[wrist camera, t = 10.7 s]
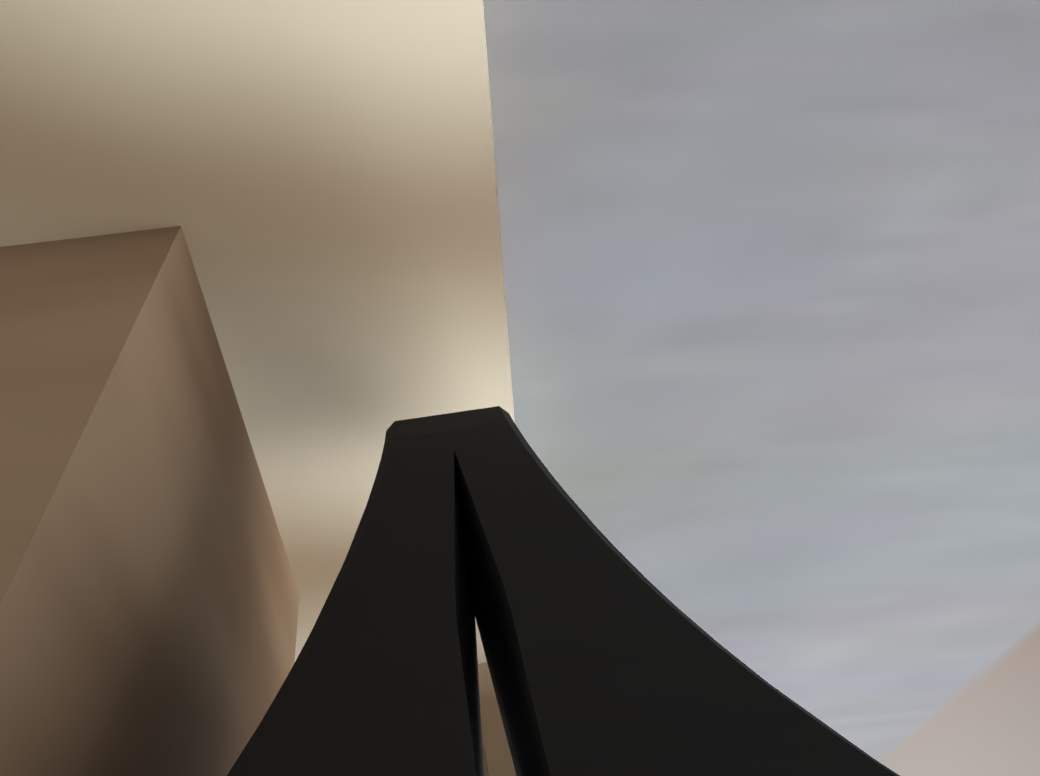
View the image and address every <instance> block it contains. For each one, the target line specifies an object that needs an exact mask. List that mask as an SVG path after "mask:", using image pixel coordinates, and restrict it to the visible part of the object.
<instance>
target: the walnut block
mask: <svg viewBox="0 0 1040 776" xmlns="http://www.w3.org/2000/svg"><path fill="white" fill-rule="evenodd" d="M298 608H299V592H298V589H297V586H296V582H295V579H294V576H293V573H292V570H291V567H290V564H289V561H288V558H287V554H286V551H285V548H284V545H283V542H282V539H281V536H280V533H279V529H278V526H277V523H276V520H275V517H274V514H273V511H272V508H271V505H270V501H269V498H268V495H267V492H266V489H265V486H264V483H263V480H262V477H261V473H260V470H259V467H258V464H257V461H256V458H255V455H254V452H253V449H252V445H251V442H250V439H249V436H248V433H247V430H246V427H245V424H244V421H243V417H242V414H241V411H240V408H239V405H238V402H237V399H236V396H235V393H234V389H233V386H232V383H231V380H230V377H229V374H228V371H227V368H226V365H225V361H224V358H223V355H222V352H221V349H220V346H219V343H218V340H217V337H216V333H215V330H214V327H213V324H212V321H211V318H210V315H209V312H208V309H207V305H206V302H205V299H204V296H203V293H202V290H201V287H200V284H199V281H198V277H197V274H196V271H195V268H194V265H193V262H192V259H191V256H190V253H189V249H188V246H187V243H186V240H185V237H184V234H183V231H182V228H181V226H176V227H167V228H158V229H150V230H141V231H133V232H124V233H116V234H107V235H99V236H90V237H81V238H73V239H64V240H56V241H47V242H39V243H30V244H21V245H13V246H4V247H0V776H227V774H228V773H229V771H230V770H231V768H232V767H233V765H234V763H235V762H236V760H237V759H238V757H239V756H240V754H241V752H242V751H243V749H244V748H245V746H246V745H247V743H248V741H249V740H250V738H251V737H252V735H253V734H254V732H255V730H256V729H257V727H258V726H259V724H260V722H261V721H262V719H263V717H264V716H265V714H266V712H267V711H268V709H269V707H270V705H271V704H272V702H273V700H274V698H275V697H276V695H277V693H278V692H279V690H280V688H281V686H282V685H283V683H284V681H285V679H286V678H287V676H288V674H289V672H290V670H291V669H292V667H293V665H294V662H295V648H296V635H297V621H298Z"/></svg>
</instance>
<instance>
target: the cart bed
mask: <svg viewBox="0 0 1040 776" xmlns="http://www.w3.org/2000/svg"><path fill="white" fill-rule="evenodd" d="M176 226H181V228H182V231H183V234H184V237H185V240H186V243H187V246H188V249H189V253H190V256H191V259H192V262H193V265H194V268H195V271H196V274H197V277H198V281H199V284H200V287H201V290H202V293H203V296H204V299H205V302H206V305H207V309H208V312H209V315H210V318H211V321H212V324H213V327H214V330H215V333H216V337H217V340H218V343H219V346H220V349H221V352H222V355H223V358H224V361H225V365H226V368H227V371H228V374H229V377H230V380H231V383H232V386H233V389H234V393H235V396H236V399H237V402H238V405H239V408H240V411H241V414H242V417H243V421H244V424H245V427H246V430H247V433H248V436H249V439H250V442H251V445H252V449H253V452H254V455H255V458H256V461H257V464H258V467H259V470H260V473H261V477H262V480H263V483H264V486H265V489H266V492H267V495H268V498H269V501H270V505H271V508H272V511H273V514H274V517H275V520H276V523H277V526H278V529H279V533H280V536H281V539H282V542H283V545H284V548H285V551H286V554H287V558H288V561H289V564H290V567H291V570H292V573H293V576H294V579H295V582H296V586H297V589H298V592H299V608H298V621H297V635H296V648H295V661H296V659H297V658H298V656H299V654H300V652H301V650H302V648H303V646H304V644H305V642H306V641H307V639H308V637H309V635H310V633H311V631H312V629H313V627H314V625H315V623H316V621H317V619H318V616H319V614H320V612H321V610H322V608H323V606H324V604H325V602H326V599H327V597H328V595H329V593H330V591H331V589H332V587H333V585H334V582H335V580H336V578H337V576H338V574H339V572H340V570H341V568H342V565H343V563H344V561H345V558H346V556H347V554H348V551H349V549H350V546H351V543H352V541H353V538H354V536H355V533H356V531H357V528H358V525H359V523H360V520H361V518H362V515H363V513H364V510H365V508H366V505H367V502H368V499H369V496H370V493H371V490H372V487H373V484H374V481H375V478H376V474H377V471H378V467H379V464H380V460H381V456H382V452H383V447H384V443H385V436H386V430H387V429H388V428H389V427H390V426H391V425H392V424H393V422H394V421H399V420H406V419H413V418H420V417H427V416H434V415H440V414H447V413H454V412H461V411H468V410H475V409H482V408H489V407H496V406H500V407H501V408H503V409H504V410H505V411H507V412H508V413H509V414H510V416H511V418H512V420H513V421H514V409H513V396H512V383H511V369H510V356H509V343H508V329H507V316H506V303H505V289H504V276H503V263H502V249H501V236H500V223H499V209H498V196H497V183H496V169H495V156H494V143H493V129H492V116H491V103H490V89H489V76H488V63H487V49H486V36H485V23H484V9H483V0H0V247H4V246H13V245H21V244H30V243H39V242H47V241H56V240H64V239H73V238H81V237H90V236H99V235H107V234H116V233H124V232H133V231H141V230H150V229H158V228H167V227H176ZM475 623H476V640H477V658H478V675H479V693H480V711H481V729H482V747H483V765H484V776H516V772H515V768H514V764H513V760H512V757H511V753H510V749H509V745H508V741H507V737H506V734H505V730H504V726H503V722H502V718H501V714H500V710H499V707H498V703H497V699H496V695H495V691H494V687H493V684H492V680H491V676H490V672H489V668H488V664H487V660H486V657H485V653H484V649H483V645H482V641H481V637H480V633H479V629H478V626H477V622H476V618H475ZM294 663H295V662H294Z"/></svg>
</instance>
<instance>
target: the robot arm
mask: <svg viewBox="0 0 1040 776" xmlns="http://www.w3.org/2000/svg"><path fill="white" fill-rule="evenodd" d="M475 618H476V622H477V626H478V629H479V633H480V637H481V641H482V645H483V649H484V653H485V657H486V660H487V664H488V668H489V672H490V676H491V680H492V684H493V687H494V691H495V695H496V699H497V703H498V707H499V710H500V714H501V718H502V722H503V726H504V730H505V734H506V737H507V741H508V745H509V749H510V753H511V757H512V760H513V764H514V768H515V772H516V776H899V775H898V774H896V773H895V772H893V771H892V770H890V769H889V768H887V767H886V766H884V765H883V764H881V763H879V762H878V761H876V760H875V759H873V758H872V757H871V756H869V755H868V754H866V753H865V752H864V751H862V750H861V749H859V748H858V747H857V746H855V745H854V744H852V743H851V742H850V741H848V740H847V739H845V738H844V737H843V736H841V735H840V734H838V733H837V732H836V731H834V730H833V729H831V728H830V727H829V726H827V725H826V724H825V723H823V722H822V721H820V720H819V719H818V718H816V717H815V716H813V715H812V714H811V713H809V712H808V711H806V710H805V709H804V708H802V707H801V706H799V705H798V704H797V703H795V702H794V701H792V700H791V699H790V698H788V697H787V696H785V695H784V694H783V693H781V692H780V691H778V690H777V689H776V688H774V687H773V686H772V685H770V684H769V683H768V682H766V681H765V680H764V679H762V678H761V677H760V676H759V675H757V674H756V673H755V672H754V671H752V670H751V669H750V668H749V667H748V666H746V665H745V664H744V663H743V662H741V661H740V660H739V659H738V658H736V657H735V656H734V655H733V654H731V653H730V652H729V651H728V650H726V649H725V648H724V647H723V646H721V645H720V644H719V643H718V642H716V641H715V640H714V639H713V638H712V637H711V636H710V635H708V634H707V633H706V632H705V631H704V630H703V629H701V628H700V627H699V626H698V625H697V624H696V623H694V622H693V621H692V620H691V619H690V618H689V617H687V616H686V615H685V614H684V613H683V612H682V611H681V610H679V609H678V608H677V607H676V606H675V605H674V604H673V603H672V602H671V601H670V600H669V599H667V598H666V597H665V596H664V595H663V594H662V593H661V592H660V591H659V590H658V589H657V588H656V587H655V586H654V585H653V584H651V583H650V582H649V581H648V580H647V579H646V578H645V577H644V576H643V575H642V574H641V573H640V572H639V571H638V570H637V569H636V568H635V567H634V566H633V565H632V564H631V563H630V562H629V561H628V560H627V559H626V558H625V557H624V556H623V555H622V554H621V553H620V552H619V551H618V550H617V549H616V548H615V547H614V546H613V545H612V543H611V542H610V541H609V540H608V539H607V538H606V537H605V536H604V535H603V534H602V533H601V532H600V531H599V530H598V529H597V527H596V526H595V525H594V524H593V523H592V522H591V521H590V519H589V518H588V517H587V516H586V515H585V514H584V513H583V511H582V510H581V509H580V508H579V507H578V506H577V505H576V503H575V502H574V501H573V500H572V499H571V498H570V497H569V495H568V494H567V493H566V492H565V491H564V490H563V488H562V487H561V486H560V485H559V483H558V482H557V481H556V480H555V479H554V477H553V476H552V475H551V474H550V472H549V471H548V470H547V468H546V467H545V466H544V464H543V463H542V462H541V460H540V459H539V458H538V457H537V455H536V454H535V452H534V451H533V450H532V448H531V447H530V446H529V444H528V443H527V441H526V440H525V438H524V437H523V435H522V434H521V432H520V431H519V429H518V428H517V426H516V425H515V423H514V421H513V420H512V418H511V416H510V414H509V413H508V412H507V411H505V410H504V409H503V408H501V407H500V406H496V407H489V408H482V409H475V410H468V411H461V412H454V413H447V414H440V415H434V416H427V417H420V418H413V419H406V420H399V421H394V422H393V424H392V425H391V426H390V427H389V428H388V429H387V430H386V436H385V443H384V447H383V452H382V456H381V460H380V464H379V467H378V471H377V474H376V478H375V481H374V484H373V487H372V490H371V493H370V496H369V499H368V502H367V505H366V508H365V510H364V513H363V515H362V518H361V520H360V523H359V525H358V528H357V531H356V533H355V536H354V538H353V541H352V543H351V546H350V549H349V551H348V554H347V556H346V558H345V561H344V563H343V565H342V568H341V570H340V572H339V574H338V576H337V578H336V580H335V582H334V585H333V587H332V589H331V591H330V593H329V595H328V597H327V599H326V602H325V604H324V606H323V608H322V610H321V612H320V614H319V616H318V619H317V621H316V623H315V625H314V627H313V629H312V631H311V633H310V635H309V637H308V639H307V641H306V642H305V644H304V646H303V648H302V650H301V652H300V654H299V656H298V658H297V659H296V661H295V663H294V665H293V667H292V669H291V670H290V672H289V674H288V676H287V678H286V679H285V681H284V683H283V685H282V686H281V688H280V690H279V692H278V693H277V695H276V697H275V698H274V700H273V702H272V704H271V705H270V707H269V709H268V711H267V712H266V714H265V716H264V717H263V719H262V721H261V722H260V724H259V726H258V727H257V729H256V730H255V732H254V734H253V735H252V737H251V738H250V740H249V741H248V743H247V745H246V746H245V748H244V749H243V751H242V752H241V754H240V756H239V757H238V759H237V760H236V762H235V763H234V765H233V767H232V768H231V770H230V771H229V773H228V774H227V776H484V765H483V747H482V729H481V711H480V693H479V675H478V658H477V640H476V623H475Z"/></svg>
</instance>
